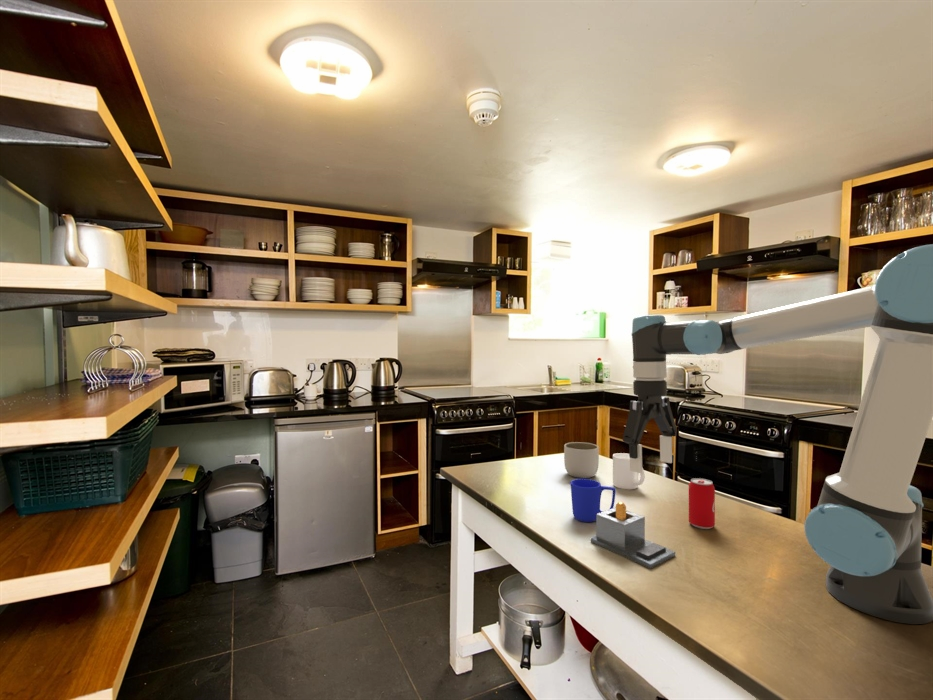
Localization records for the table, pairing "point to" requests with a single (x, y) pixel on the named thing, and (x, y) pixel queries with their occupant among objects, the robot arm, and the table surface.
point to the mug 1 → (587, 499)
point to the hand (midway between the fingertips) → (651, 466)
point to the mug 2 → (625, 473)
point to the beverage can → (701, 503)
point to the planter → (581, 459)
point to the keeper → (638, 547)
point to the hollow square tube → (620, 529)
